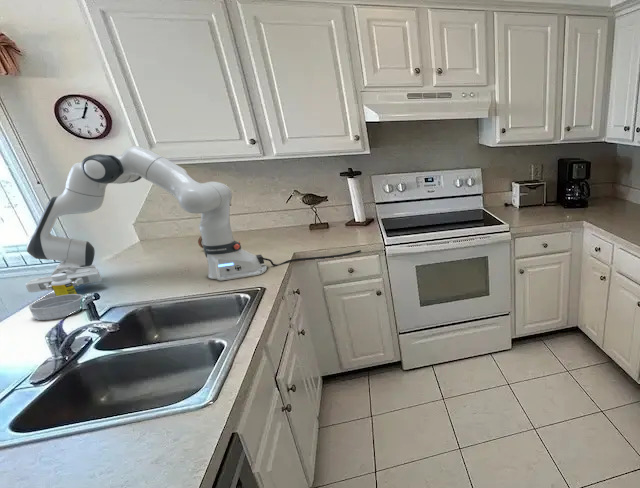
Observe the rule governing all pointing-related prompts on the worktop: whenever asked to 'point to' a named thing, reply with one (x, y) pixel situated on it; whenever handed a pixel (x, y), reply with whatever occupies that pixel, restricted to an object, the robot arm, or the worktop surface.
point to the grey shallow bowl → (55, 307)
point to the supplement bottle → (62, 285)
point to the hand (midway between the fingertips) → (62, 286)
